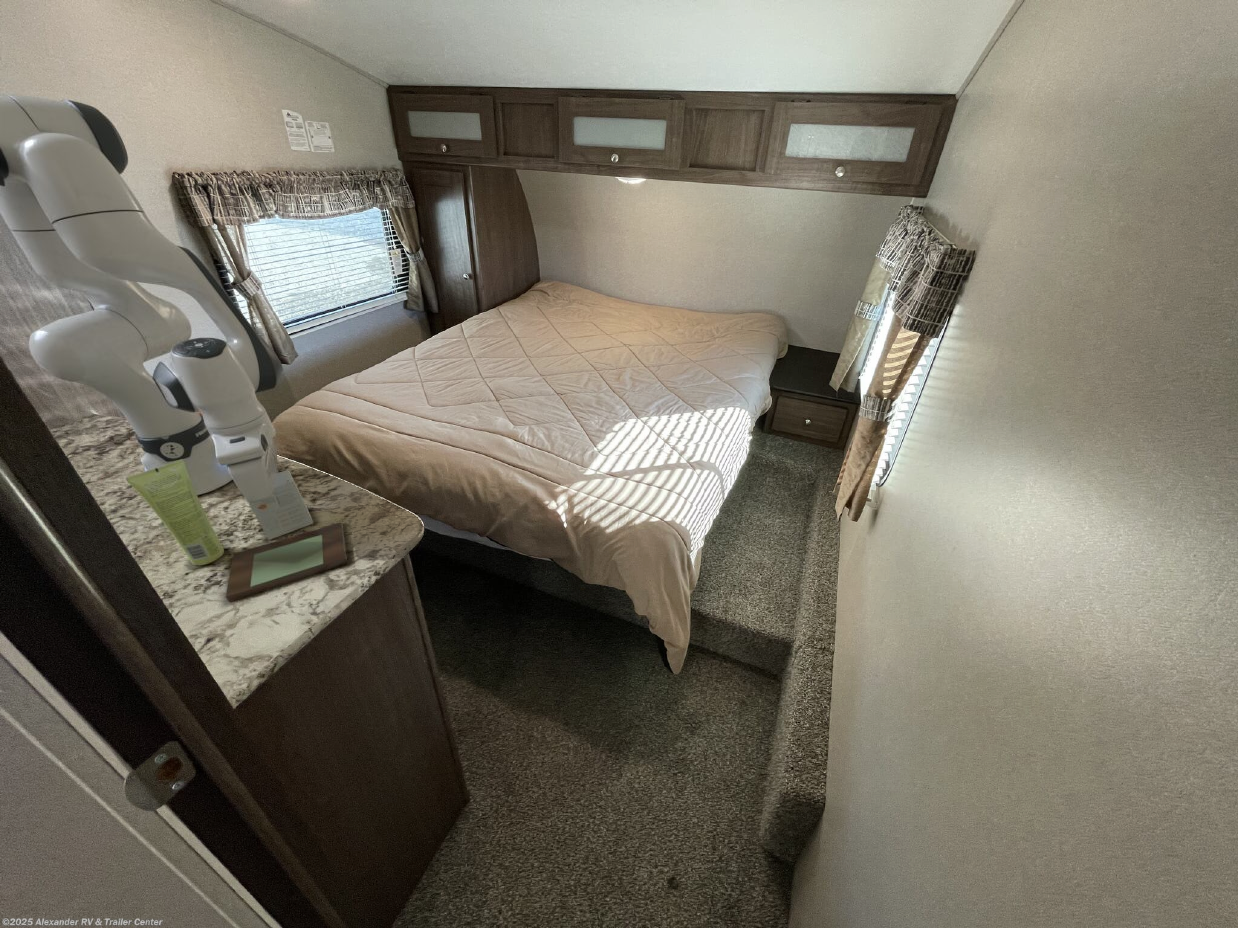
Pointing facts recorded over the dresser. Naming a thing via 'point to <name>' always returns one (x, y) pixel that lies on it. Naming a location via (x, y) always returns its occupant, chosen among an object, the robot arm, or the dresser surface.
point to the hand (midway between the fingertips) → (276, 495)
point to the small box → (283, 509)
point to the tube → (179, 510)
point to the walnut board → (286, 561)
